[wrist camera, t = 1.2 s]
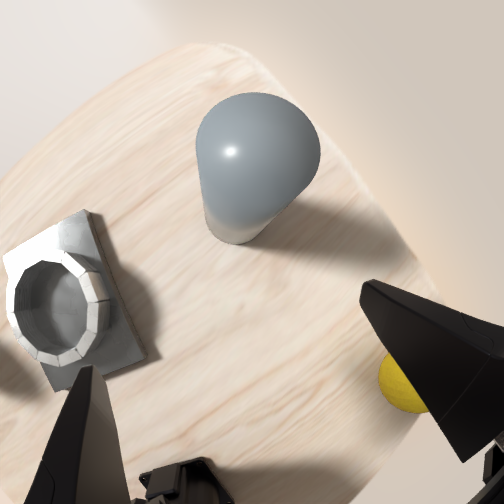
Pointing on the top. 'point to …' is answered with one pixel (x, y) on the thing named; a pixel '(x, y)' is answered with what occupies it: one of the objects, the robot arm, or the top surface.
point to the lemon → (398, 387)
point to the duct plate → (69, 303)
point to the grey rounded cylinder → (253, 162)
